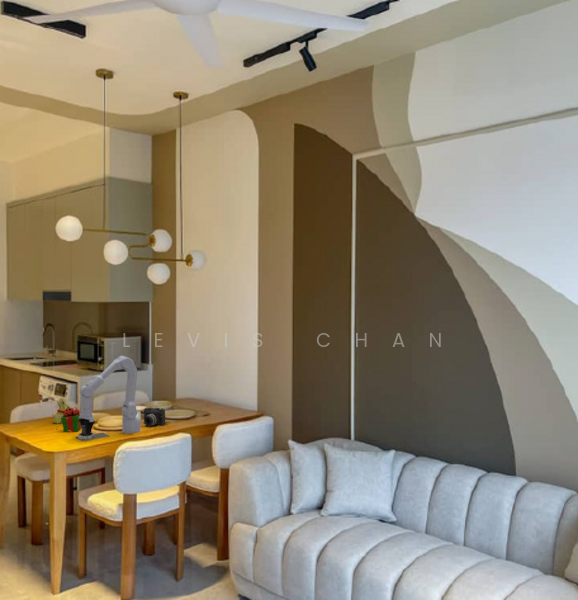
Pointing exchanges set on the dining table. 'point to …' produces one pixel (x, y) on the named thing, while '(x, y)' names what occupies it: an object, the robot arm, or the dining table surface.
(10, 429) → the dining table surface
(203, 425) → the dining table surface
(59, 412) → the chocolate bunny
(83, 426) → the dark grey block
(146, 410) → the camera
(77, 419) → the gift wrap
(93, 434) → the lens mount
